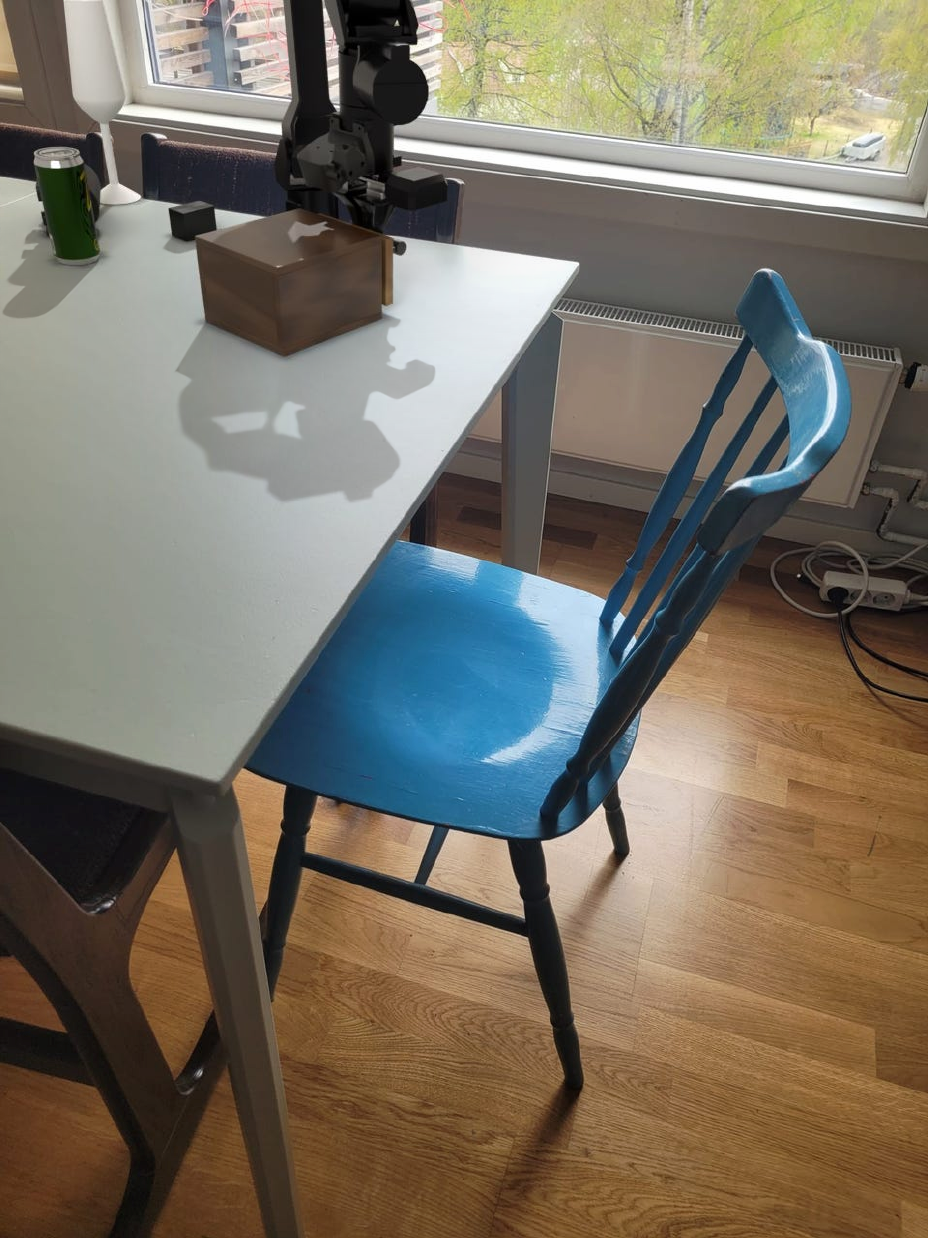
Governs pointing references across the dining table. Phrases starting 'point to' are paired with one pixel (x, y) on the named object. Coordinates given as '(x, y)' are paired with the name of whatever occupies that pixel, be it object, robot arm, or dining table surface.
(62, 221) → the beer can
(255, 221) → the cabinet
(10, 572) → the dining table surface
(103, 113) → the champagne flute
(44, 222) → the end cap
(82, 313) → the dining table surface
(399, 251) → the drawer
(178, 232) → the black block
